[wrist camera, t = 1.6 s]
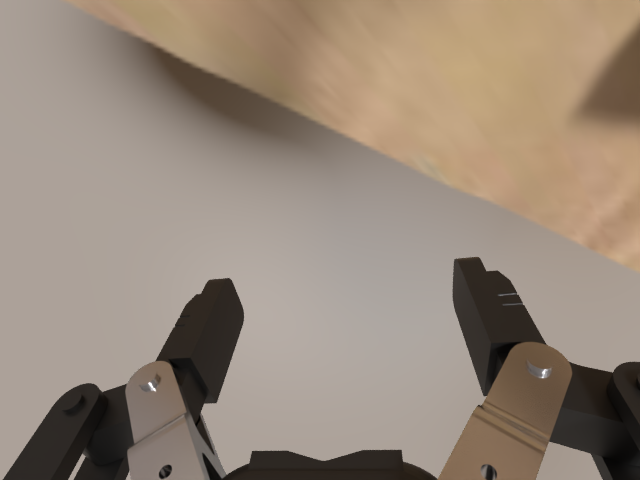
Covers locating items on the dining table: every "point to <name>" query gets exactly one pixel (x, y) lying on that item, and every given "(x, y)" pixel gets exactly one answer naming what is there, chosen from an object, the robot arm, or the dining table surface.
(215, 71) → the dining table surface
